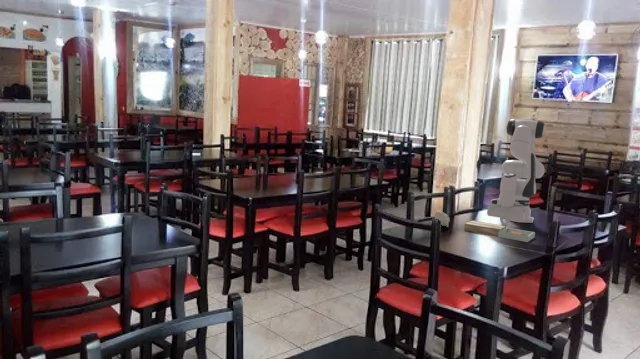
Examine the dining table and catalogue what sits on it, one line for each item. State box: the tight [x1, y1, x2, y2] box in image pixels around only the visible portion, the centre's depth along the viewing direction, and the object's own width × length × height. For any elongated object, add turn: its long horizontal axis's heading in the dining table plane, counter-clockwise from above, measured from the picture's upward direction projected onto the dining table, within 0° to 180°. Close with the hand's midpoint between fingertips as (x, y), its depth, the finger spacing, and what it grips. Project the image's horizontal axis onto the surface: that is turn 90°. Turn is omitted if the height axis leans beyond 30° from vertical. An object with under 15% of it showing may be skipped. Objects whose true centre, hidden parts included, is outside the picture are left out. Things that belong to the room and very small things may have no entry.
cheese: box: [434, 209, 451, 228], centre depth 320 cm, size 15×7×15 cm
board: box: [463, 220, 507, 237], centre depth 317 cm, size 13×20×4 cm, turn 55°
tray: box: [497, 227, 536, 243], centre depth 307 cm, size 15×16×3 cm
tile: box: [509, 231, 523, 236], centre depth 307 cm, size 6×6×2 cm
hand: (504, 226), depth 311 cm, fingers closed
